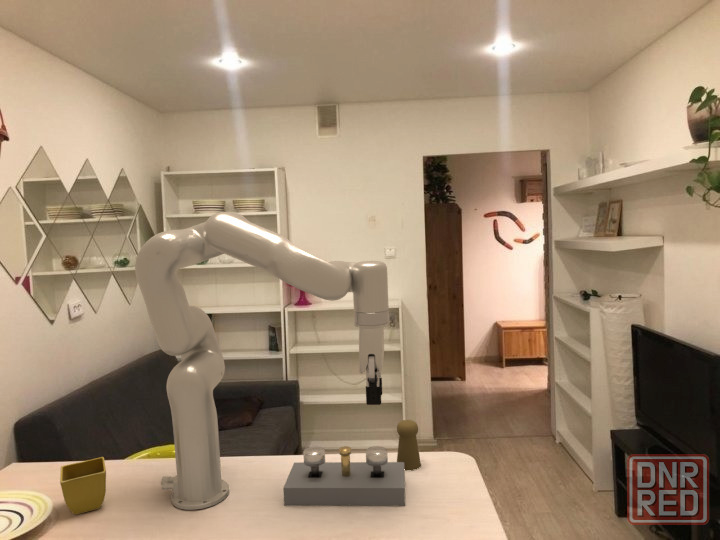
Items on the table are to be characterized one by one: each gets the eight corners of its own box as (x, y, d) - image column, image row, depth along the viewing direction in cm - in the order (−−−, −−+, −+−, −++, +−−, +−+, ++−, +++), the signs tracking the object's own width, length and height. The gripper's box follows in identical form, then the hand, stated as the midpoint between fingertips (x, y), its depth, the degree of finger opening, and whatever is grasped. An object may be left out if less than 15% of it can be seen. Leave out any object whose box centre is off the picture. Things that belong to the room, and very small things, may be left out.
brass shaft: (339, 477, 121) (338, 451, 121) (341, 471, 124) (339, 446, 123) (351, 477, 121) (350, 451, 120) (352, 471, 124) (351, 446, 123)
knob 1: (303, 483, 121) (301, 455, 120) (306, 472, 126) (305, 446, 125) (324, 483, 121) (323, 455, 120) (327, 472, 125) (326, 446, 125)
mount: (284, 505, 118) (283, 487, 118) (295, 478, 130) (294, 462, 129) (405, 505, 116) (404, 488, 116) (404, 478, 128) (404, 462, 127)
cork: (419, 471, 131) (418, 427, 130) (394, 469, 132) (393, 426, 131) (422, 460, 137) (420, 417, 136) (398, 458, 138) (396, 416, 137)
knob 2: (366, 483, 120) (364, 455, 119) (367, 472, 125) (366, 446, 124) (388, 483, 119) (387, 455, 119) (388, 472, 124) (387, 446, 124)
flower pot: (63, 522, 115) (59, 482, 114) (64, 504, 122) (60, 465, 121) (109, 511, 119) (106, 471, 118) (107, 493, 126) (104, 456, 125)
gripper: (357, 311, 127) (360, 387, 129) (350, 326, 110) (354, 414, 112) (389, 310, 126) (392, 387, 128) (387, 326, 109) (390, 413, 111)
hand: (374, 398), depth 120 cm, fingers open, 5 cm apart
